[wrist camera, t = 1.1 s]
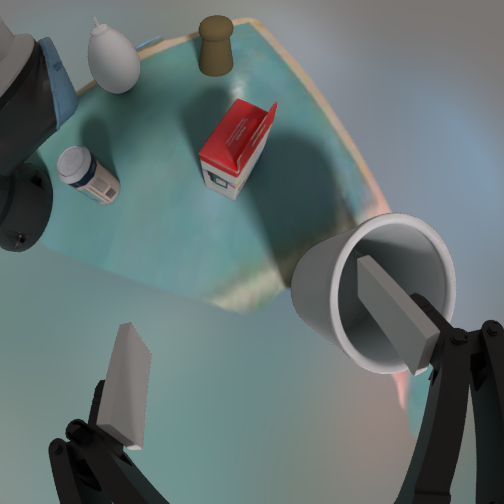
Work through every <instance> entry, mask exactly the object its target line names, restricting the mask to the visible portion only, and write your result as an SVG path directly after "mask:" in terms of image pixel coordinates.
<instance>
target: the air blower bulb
mask: <svg viewBox="0 0 504 504" xmlns="http://www.w3.org/2000/svg"><path fill="white" fill-rule="evenodd" d="M93 19H94V22H95V25H96V27H95V28H94V29H93V30H92V31H91V35H92V36H91V39H90V42H89V47H88V62H89V66H90V70H91V73H92V75H93V77H94V79H95V80H96V82H97V83H98V84H99V85H100V86H101V87H102V88H103V89H105V90H106V91H108V92H111V93H115V94H120V93H124V92H126V91H128V90H129V89H131V88H132V87H133V86H134V85H135V84H136V82H137V80H138V78H139V75H140V59H139V56H138V54H137V51H136V49H135V47H134V46H133V44H132V43H131V42H130V41H129V39H127V37H126V36H124V35H123V34H122V33H121V32H119V31H117V30H116V29H113V28H110V27H108V25H107V24H100V25H99V23H98V21H97V19H96V18H95V17H94V16H93Z"/></svg>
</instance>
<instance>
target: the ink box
mask: <svg viewBox="0 0 504 504" xmlns="http://www.w3.org/2000/svg"><path fill="white" fill-rule="evenodd" d="M276 108H277V102H275V103H274V104H273V106H272V107H271V109H270V110H269V112H267V111H265V110H263V109H261V108H259V107H257V106H254V105H252V104H250V103H248V102H246V101H243V100H241V99H237V100H236V101H235V103H234V104H233V105H232V107H231V108H230V109H229V111H228V112H227V113H226V115H225V116H224V117H223V119H222V120H221V122H220V123H219V124H218V126H217V127H216V129H215V130H214V131H213V133H212V134H211V136H210V137H209V139H208V140H207V141H206V143H205V145H204V146H203V148H202V149H201V151H200V152H199V156H200V161H201V165H202V170H203V175H204V180H205V184H206V187H208V188H210V189H212V190H214V191H216V192H218V193H220V194H222V195H224V196H226V197H228V198H230V199H232V200H236V198H237V196H238V195H239V193H240V191H241V189H242V188H243V186H244V184H245V182H246V181H247V179H248V177H249V175H250V174H251V172H252V170H253V169H254V167H255V165H256V163H257V162H258V160H259V158H260V157H261V155H262V152H263V149H264V146H265V143H266V140H267V137H268V134H269V131H270V128H271V125H272V122H273V120H274V117H275V112H276Z"/></svg>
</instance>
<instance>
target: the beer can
mask: <svg viewBox="0 0 504 504" xmlns="http://www.w3.org/2000/svg"><path fill="white" fill-rule="evenodd" d="M57 170H58V175H59V178H60V179H61V181H63V182H64V183H67V184H68V185H70V186H71V187H73V188H75V189H76V190H78V191H80V192H81V193H83V194H84V195H86V196H88V197H89V198H91V199H93V200H94V201H96V202H97V203H98V204H101V205H106V204H109V203H111V202H112V201H114V200H115V198H116V197H117V196H118V194H119V191H120V182H119V180H118V178H117V177H116V176H115V175H114V174H113V173H112V172H111V171H110V170H109V169H108V168H107V167H106V166H104V165H103V164H102V163H101V162H100V161H99V160H98V159H97V158H96V157H95V156H94V155H93V154H92V153H91V152H90V151H89V150H88V149H87V148H86V147H84V146H72V147H70V148H67V149H66V150H65V151H64V152H63V153H62V154H61V155H60V157H59V160H58V163H57Z"/></svg>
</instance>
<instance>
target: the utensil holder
mask: <svg viewBox="0 0 504 504" xmlns="http://www.w3.org/2000/svg"><path fill="white" fill-rule="evenodd" d="M367 255H369V256H371V257H372V258H373V259H374V260H375V261H376V262H377V263H378V264H379V265H380V266H381V267H382V269H383V270H384V271H385V272H386V273H387V274H388V275H389V276H390V277H391V278H392V279H393V280H394V281H395V282H396V283H397V284H398V285H399V286H400V287H401V288H402V289H403V290H404V291H405V292H406V294H407V295H408V296H409V295H411V294H413V293H418V294H420V295H422V296H424V297H425V298H426V299H427V300H428V301H429V302H430V304H432V305H433V306H434V307H435V309H437V311H438V312H439V313H440V314H441V315H442V316H443V317H444V318H445V319H446V320H447V321H448V322H449V323H450V320H451V317H452V314H453V310H454V305H455V298H456V279H455V273H454V266H453V263H452V259H451V256H450V254H449V251H448V249H447V247H446V245H445V244H444V242H443V240H442V239H441V237H440V236H439V235H438V234H437V232H436V231H435V230H434V229H433V228H432V227H431V226H429V225H428V224H427V223H425V222H424V221H422V220H421V219H418V218H416V217H414V216H412V215H408V214H403V213H386V214H382V215H379V216H376V217H373V218H371V219H368V220H366V221H365V222H363V223H361V224H360V225H359V226H357V227H356V228H353V229H351V230H349V231H346V232H344V233H341V234H339V235H336V236H333V237H331V238H329V239H327V240H325V241H323V242H320V243H318V244H316V245H315V246H313V247H312V248H310V249H309V250H308V251H307V252H306V253H305V254H304V255H303V256H302V257H301V259H300V260H299V262H298V264H297V265H296V267H295V270H294V272H293V276H292V281H291V297H292V301H293V305H294V307H295V309H296V311H297V313H298V314H299V316H300V318H301V319H302V320H303V321H304V322H305V323H306V324H307V325H308V326H309V327H311V328H312V329H313V330H314V331H315V332H317V333H318V334H319V335H321V336H322V337H324V338H325V339H327V340H328V341H329V342H331V343H332V344H333V345H335V346H336V347H338V348H339V349H341V350H342V352H343V353H344V354H345V355H346V356H347V357H348V358H349V359H351V360H352V361H353V362H354V363H356V364H357V365H359V366H361V367H362V368H364V369H366V370H369V371H371V372H375V373H380V374H393V373H398V372H402V371H405V370H408V369H409V368H408V367H407V365H406V364H405V362H404V361H403V359H402V358H401V356H400V355H399V353H398V352H397V350H396V349H395V347H394V346H393V345H392V343H391V342H390V340H389V339H388V337H387V336H386V335H385V333H384V332H383V330H382V329H381V327H380V326H379V325H378V323H377V322H376V321H375V319H374V318H373V316H372V315H371V314H370V312H369V311H368V310H367V308H366V307H365V305H364V304H363V303H362V301H361V300H360V299H359V297H358V269H357V259H358V258H361V257H364V256H367Z"/></svg>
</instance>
